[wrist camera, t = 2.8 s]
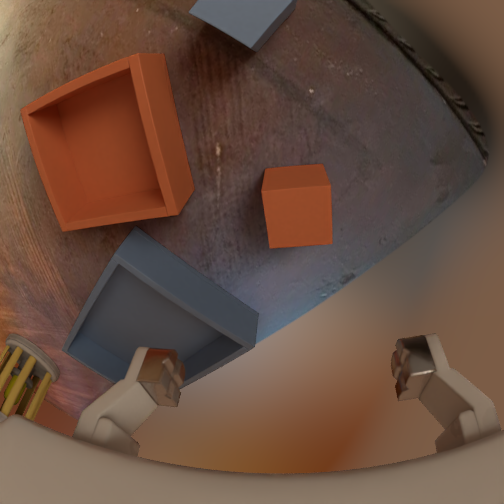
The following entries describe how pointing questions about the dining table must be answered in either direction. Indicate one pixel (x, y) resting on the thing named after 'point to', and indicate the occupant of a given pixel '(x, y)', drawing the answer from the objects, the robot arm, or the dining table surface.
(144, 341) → the blue bin
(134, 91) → the terracotta bin
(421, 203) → the dining table surface
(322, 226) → the terracotta block
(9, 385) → the lantern
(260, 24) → the blue block
